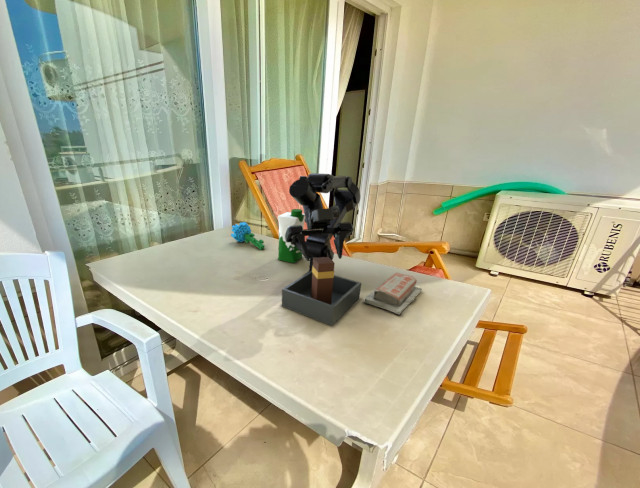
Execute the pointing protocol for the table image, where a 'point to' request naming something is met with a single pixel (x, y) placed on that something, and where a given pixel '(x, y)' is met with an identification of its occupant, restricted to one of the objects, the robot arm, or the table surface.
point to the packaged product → (394, 293)
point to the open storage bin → (301, 301)
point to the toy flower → (245, 235)
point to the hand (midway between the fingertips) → (324, 259)
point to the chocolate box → (322, 279)
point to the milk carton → (285, 220)
